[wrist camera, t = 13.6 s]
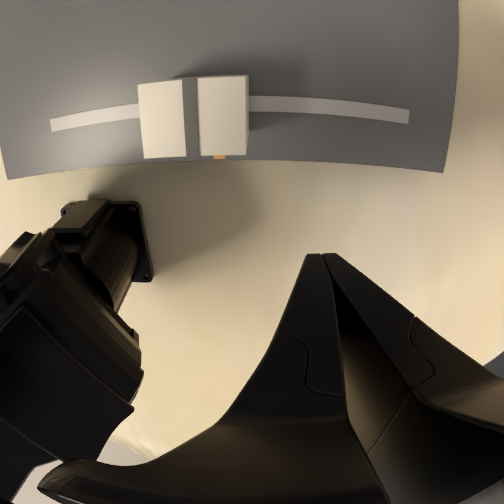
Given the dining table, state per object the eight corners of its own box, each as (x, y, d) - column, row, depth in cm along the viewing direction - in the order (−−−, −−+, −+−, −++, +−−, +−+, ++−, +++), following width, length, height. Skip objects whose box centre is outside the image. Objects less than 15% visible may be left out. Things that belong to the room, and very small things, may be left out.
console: (424, 160, 18) (443, 173, 16) (27, 167, 18) (6, 180, 16) (431, -57, 9) (451, -66, 7) (16, -27, 10) (-6, -30, 8)
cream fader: (248, 134, 15) (245, 156, 11) (169, 137, 15) (143, 160, 12) (248, 73, 13) (245, 75, 10) (166, 78, 13) (136, 83, 10)
